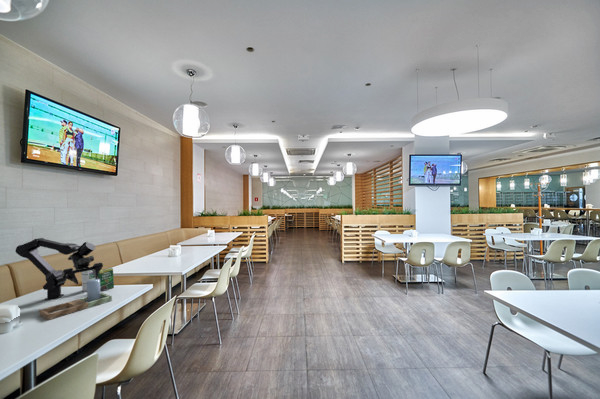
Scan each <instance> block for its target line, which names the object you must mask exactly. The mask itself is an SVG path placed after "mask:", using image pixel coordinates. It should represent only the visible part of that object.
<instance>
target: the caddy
mask: <svg viewBox="0 0 600 399" xmlns="http://www.w3.org/2000/svg"><path fill="white" fill-rule="evenodd" d="M100 295H101V299H98V300H95V301H91V302H88V303H87V296H85V297H81V298H78V299H73V300H70V301H68V302H64V303H61V304H60V303H59V304H56V305H52V306H50V307H46V308H42V309H39V310H38V315H39V316H40V317H42V318H44V319H45V320H47V321H49V320H52V319H56V318H59V317H62V316H66V315H69V314H71V313H75V312H79V311H82V310H86V309H88V308H92V307H96V306H98V305H102V304H105V303H107V302H111V301H113V296H112V295H109V294H106V293H104V292H100Z"/></svg>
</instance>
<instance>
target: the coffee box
mask: <svg viewBox="0 0 600 399" xmlns="http://www.w3.org/2000/svg"><path fill="white" fill-rule="evenodd" d="M98 279H100V292H103V291H106V290H110V289H114V287H115V283H114V282H115V278H114V268H113V267H110V268H106V269H101V271H99V272H98Z"/></svg>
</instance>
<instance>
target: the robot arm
mask: <svg viewBox="0 0 600 399" xmlns="http://www.w3.org/2000/svg"><path fill="white" fill-rule="evenodd" d="M41 247H42V248H48V249H51V250H55V251H57V252H59V253H60V254H62V255H65V256H67V255H69V256H68V258H67V260H68V261H72V264H73V267H70V268H64V269H63V270H62V269H59V270H56V269H55V268H53V266H51V264H50V263H48V262H47V261H46V260H45V259H44V258H43V257H42V256H41V254H39V248H41ZM95 250H96V246H95V245H94V244H93V243H91V242H89V241H85V242H84V243H82V244H81V245H78V244H76V243H72V242H71V243H69V242H67V243H63V242H59V241H54V240H49V239H45V238H43V237H39V238H34V239H33V240H31V241H28V242H26V243H23V244H20V245H18V246H16V248H15V253H16V254H17V255H18V256H20V258H21V257H22V258H24V259H27V260H29V261H30V262H31V263H32V264H33V265H34V266H35V267H36V268H37V269H38V270H39V271H40V273H42V274H43V276H45V282H46V283H45V284H44V285H43V286H42V288H43V290H44V291H45V290H47V292H46V297H45V298H44V300H45V301H47V300H55V299H59V298H60V297H61V298H62V297H63V296H65V294H64V293H63V294H62V286H65V283H66V281H67V280H68V281H71V282H73V283H74V284H76V285H79V281H78V279H77V276H76V275H75V274H78V273H82V272H84V271H89V270H92V271H93V275H94V277H95V279H98V272H99V271H101V270H103V269H102V268H103V266H104V264H103V262H96V263H93V265H91V264H90V263H91V262H93V261H95V258H94V255H90V254H92V252H94V251H95ZM90 265H91V266H90ZM74 268H75V269H74Z"/></svg>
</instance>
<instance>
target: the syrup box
mask: <svg viewBox="0 0 600 399" xmlns="http://www.w3.org/2000/svg"><path fill="white" fill-rule="evenodd" d="M93 279H95V277H94V275H93V271H92V270H89V271H84V272H81V288H82V289H81V290H82V292H87V281H89V280H93Z"/></svg>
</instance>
